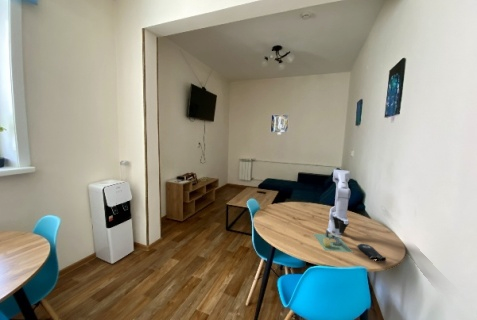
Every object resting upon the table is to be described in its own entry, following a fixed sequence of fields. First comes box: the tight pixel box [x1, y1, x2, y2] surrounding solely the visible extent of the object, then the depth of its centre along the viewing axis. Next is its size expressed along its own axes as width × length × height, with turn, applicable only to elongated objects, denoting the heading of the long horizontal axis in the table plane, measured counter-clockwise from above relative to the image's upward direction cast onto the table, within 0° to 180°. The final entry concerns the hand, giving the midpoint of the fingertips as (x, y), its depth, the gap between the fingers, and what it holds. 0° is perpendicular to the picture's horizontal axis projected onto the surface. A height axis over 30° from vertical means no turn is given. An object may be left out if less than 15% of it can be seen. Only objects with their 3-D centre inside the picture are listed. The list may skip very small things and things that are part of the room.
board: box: [313, 229, 354, 253], centre depth 122 cm, size 20×16×5 cm
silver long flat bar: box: [328, 232, 343, 239], centre depth 123 cm, size 14×2×1 cm, turn 178°
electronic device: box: [356, 243, 387, 262], centre depth 113 cm, size 9×6×15 cm
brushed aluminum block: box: [329, 237, 342, 245], centre depth 122 cm, size 6×5×2 cm
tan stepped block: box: [323, 238, 336, 248], centre depth 117 cm, size 3×6×4 cm, turn 88°
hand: (339, 230), depth 118 cm, fingers open, 5 cm apart
